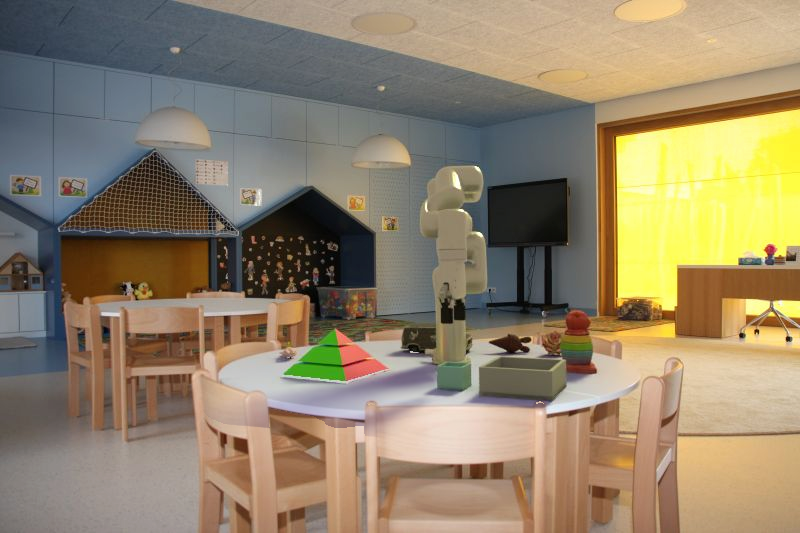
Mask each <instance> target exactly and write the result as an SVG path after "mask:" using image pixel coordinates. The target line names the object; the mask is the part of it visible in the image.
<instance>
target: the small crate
mask: <svg viewBox="0 0 800 533" xmlns="http://www.w3.org/2000/svg"><path fill="white" fill-rule="evenodd" d="M436 383H437V384H436V387H437V388H436V389H437V390H445V391H458V392H459V391H461V392H464V391H465V390H467V389H468V388H470V387H472V363H471V362H470V363H458V362H445V363H443V364H440V365H438V364H437V365H436Z"/></svg>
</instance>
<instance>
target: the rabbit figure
mask: <svg viewBox="0 0 800 533" xmlns="http://www.w3.org/2000/svg"><path fill="white" fill-rule="evenodd" d="M291 345H292V344H291V343H290V341H287V342H286V346H285V347H286V348H284V349H283V351H280V352H279V354H281V355H282V357H284V356H285V357H284V358H287V357H292V358H293V356H294V357H296V356H297V354H298V351H297V350H296V349H295V348H294V347H291Z"/></svg>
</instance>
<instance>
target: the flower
mask: <svg viewBox="0 0 800 533" xmlns="http://www.w3.org/2000/svg"><path fill="white" fill-rule="evenodd" d="M563 334H564V332H562V331H561V332H560V331H557V330H555V329H554V330H551V331H550V332H547V333H546V332H545V333H543V334H541V336H540V337H541V339H540V340H541V347H542V348H544V350H545V351H546V352H547V354H546V356H548V355H553V354H555V355H558V356H561V341H562V336H563Z"/></svg>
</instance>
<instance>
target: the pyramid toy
mask: <svg viewBox="0 0 800 533" xmlns="http://www.w3.org/2000/svg"><path fill="white" fill-rule="evenodd" d="M372 357H373V356H372V355H371V354H370V353H369V352H367V351H366V350H364V349H363V347H360V346H359V345H358V344H357V343H354V341H352V340H351V339H350V338H349V337H348V336H346V335H345V334H343V333H342V332H340V331H339V330H338V329H337V328H334V329H333V330H331V331H330V332H329V333H328V334H326V335H325V336H324V338H322V339H321V340H320V341H319V342H317V345H314V346H313V347H312V348H311V349H310V350H308V351H307V352H306V353H305V354H304V355H302V357H300V358H299V359H298V360H297V362H296V363H293V364H292V365H291V366H290V367H288V369H287V370H285V372H284V373H283V374H284V375H293V376H301V377H311V378H320V379H329V380H340V381H348V380H351V379H355V378H358V377H362V376H365V375H368V374H372V373H375V372H378V371H381V370H385V369H389V368H388V367H387V366H386V365H384V364H383V363H382V362H380V360H378V359H376V358H372Z"/></svg>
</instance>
